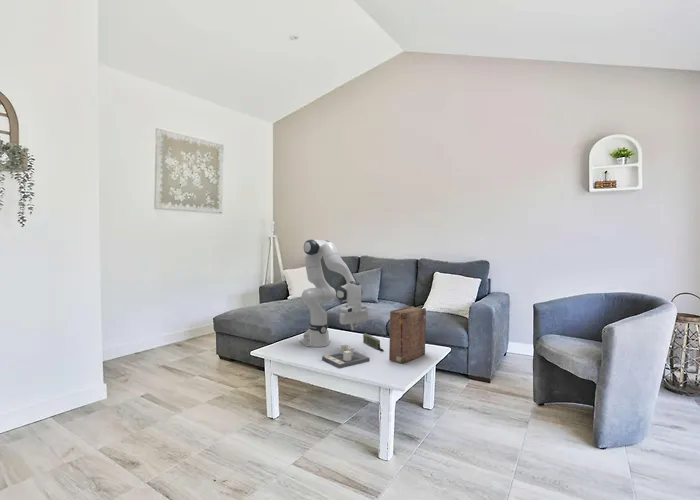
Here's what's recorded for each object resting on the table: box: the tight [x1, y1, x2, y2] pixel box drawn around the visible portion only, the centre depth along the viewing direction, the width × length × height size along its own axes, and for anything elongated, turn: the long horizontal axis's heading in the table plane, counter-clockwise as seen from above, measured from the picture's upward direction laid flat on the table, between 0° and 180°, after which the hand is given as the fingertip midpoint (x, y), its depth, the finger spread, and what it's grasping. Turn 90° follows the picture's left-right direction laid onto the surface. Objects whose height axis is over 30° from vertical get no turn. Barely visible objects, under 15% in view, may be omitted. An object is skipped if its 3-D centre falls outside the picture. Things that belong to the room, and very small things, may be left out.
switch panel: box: [321, 351, 370, 369], centre depth 232 cm, size 18×22×2 cm
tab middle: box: [346, 346, 355, 357], centre depth 233 cm, size 3×4×5 cm
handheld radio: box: [362, 332, 385, 352], centre depth 261 cm, size 7×3×25 cm
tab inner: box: [340, 344, 349, 354], centre depth 238 cm, size 3×4×5 cm
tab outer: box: [343, 351, 351, 361], centre depth 225 cm, size 3×4×5 cm
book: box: [388, 305, 427, 365], centre depth 239 cm, size 25×9×30 cm, turn 137°
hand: (353, 329), depth 241 cm, fingers closed
